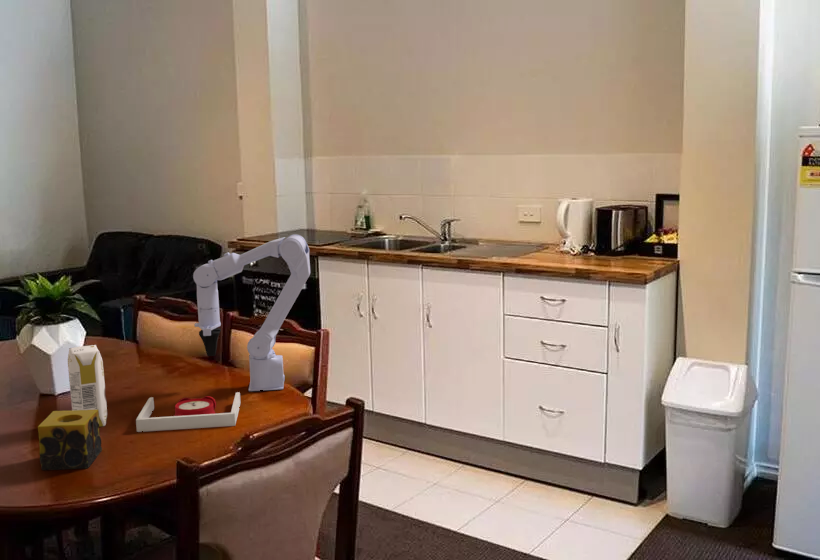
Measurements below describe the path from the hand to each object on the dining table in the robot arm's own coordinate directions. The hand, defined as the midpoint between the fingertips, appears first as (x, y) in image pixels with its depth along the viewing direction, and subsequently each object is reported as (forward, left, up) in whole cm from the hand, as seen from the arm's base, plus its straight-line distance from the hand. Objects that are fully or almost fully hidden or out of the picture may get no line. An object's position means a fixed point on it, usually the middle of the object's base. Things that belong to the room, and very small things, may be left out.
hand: (211, 355), depth 224 cm
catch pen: (+3, +24, -9) cm, 26 cm away
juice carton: (+27, +25, -10) cm, 38 cm away
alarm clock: (+2, +24, -10) cm, 26 cm away
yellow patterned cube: (+25, +49, -10) cm, 56 cm away
